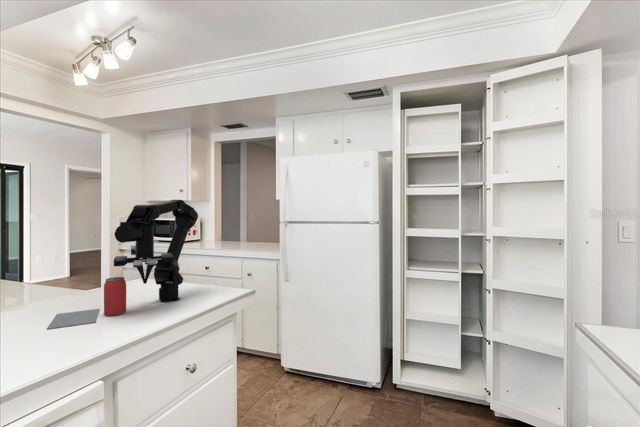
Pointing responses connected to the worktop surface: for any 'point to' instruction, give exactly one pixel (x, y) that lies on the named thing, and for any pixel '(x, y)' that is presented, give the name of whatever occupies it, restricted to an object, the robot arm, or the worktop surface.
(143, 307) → the worktop surface
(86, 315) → the mat
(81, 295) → the worktop surface
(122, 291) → the beer can
